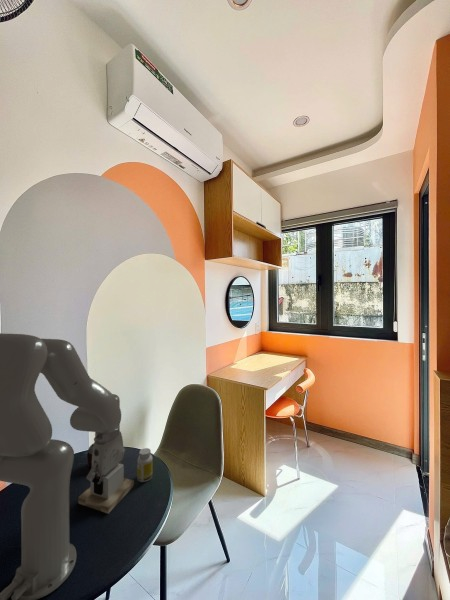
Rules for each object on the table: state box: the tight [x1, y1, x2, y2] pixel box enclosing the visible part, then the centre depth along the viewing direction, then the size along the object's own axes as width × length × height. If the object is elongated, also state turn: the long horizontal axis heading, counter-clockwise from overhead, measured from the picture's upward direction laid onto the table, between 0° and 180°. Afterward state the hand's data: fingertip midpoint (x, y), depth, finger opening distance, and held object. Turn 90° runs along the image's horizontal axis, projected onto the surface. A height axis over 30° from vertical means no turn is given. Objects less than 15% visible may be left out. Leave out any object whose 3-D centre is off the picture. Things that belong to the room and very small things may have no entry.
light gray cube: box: [90, 463, 125, 499], centre depth 86 cm, size 7×7×7 cm
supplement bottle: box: [136, 447, 154, 483], centre depth 94 cm, size 5×5×10 cm
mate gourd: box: [86, 442, 94, 470], centre depth 101 cm, size 8×8×15 cm
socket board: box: [77, 477, 135, 514], centre depth 86 cm, size 12×12×2 cm
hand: (107, 484), depth 86 cm, fingers closed on light gray cube, 7 cm apart
